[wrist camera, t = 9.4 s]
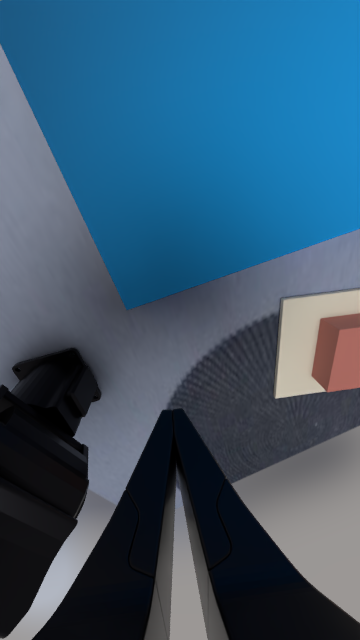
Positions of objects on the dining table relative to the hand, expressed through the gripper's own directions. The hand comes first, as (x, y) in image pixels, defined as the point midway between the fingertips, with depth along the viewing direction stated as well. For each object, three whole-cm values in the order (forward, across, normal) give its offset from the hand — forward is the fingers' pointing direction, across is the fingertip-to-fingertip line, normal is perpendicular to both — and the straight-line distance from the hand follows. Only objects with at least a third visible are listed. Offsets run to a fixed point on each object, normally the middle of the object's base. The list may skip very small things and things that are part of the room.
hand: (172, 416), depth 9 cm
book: (+14, -7, -12) cm, 20 cm away
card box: (+11, -15, +6) cm, 20 cm away
